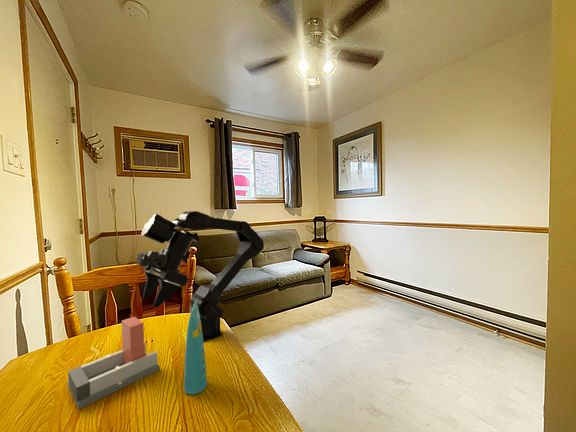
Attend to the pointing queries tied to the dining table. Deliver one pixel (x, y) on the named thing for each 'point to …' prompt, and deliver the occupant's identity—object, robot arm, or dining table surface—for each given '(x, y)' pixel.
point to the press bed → (108, 376)
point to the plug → (132, 339)
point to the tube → (194, 355)
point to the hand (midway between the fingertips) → (149, 302)
